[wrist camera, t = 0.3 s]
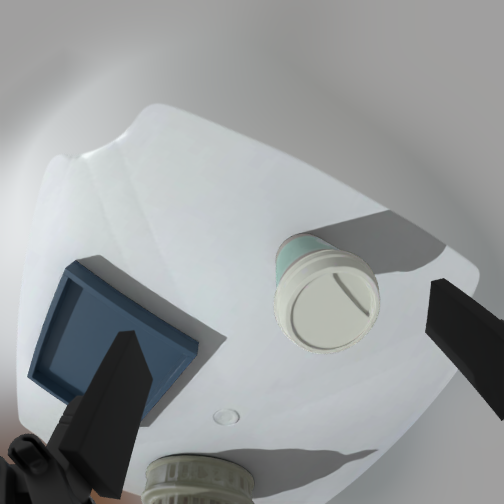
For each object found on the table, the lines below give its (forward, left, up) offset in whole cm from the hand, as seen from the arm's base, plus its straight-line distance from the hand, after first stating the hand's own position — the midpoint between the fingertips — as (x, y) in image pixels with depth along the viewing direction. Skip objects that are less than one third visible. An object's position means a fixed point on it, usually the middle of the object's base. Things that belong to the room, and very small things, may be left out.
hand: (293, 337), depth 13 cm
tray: (+26, -6, -21) cm, 34 cm away
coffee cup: (0, +6, -21) cm, 22 cm away
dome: (+44, +20, -21) cm, 53 cm away
